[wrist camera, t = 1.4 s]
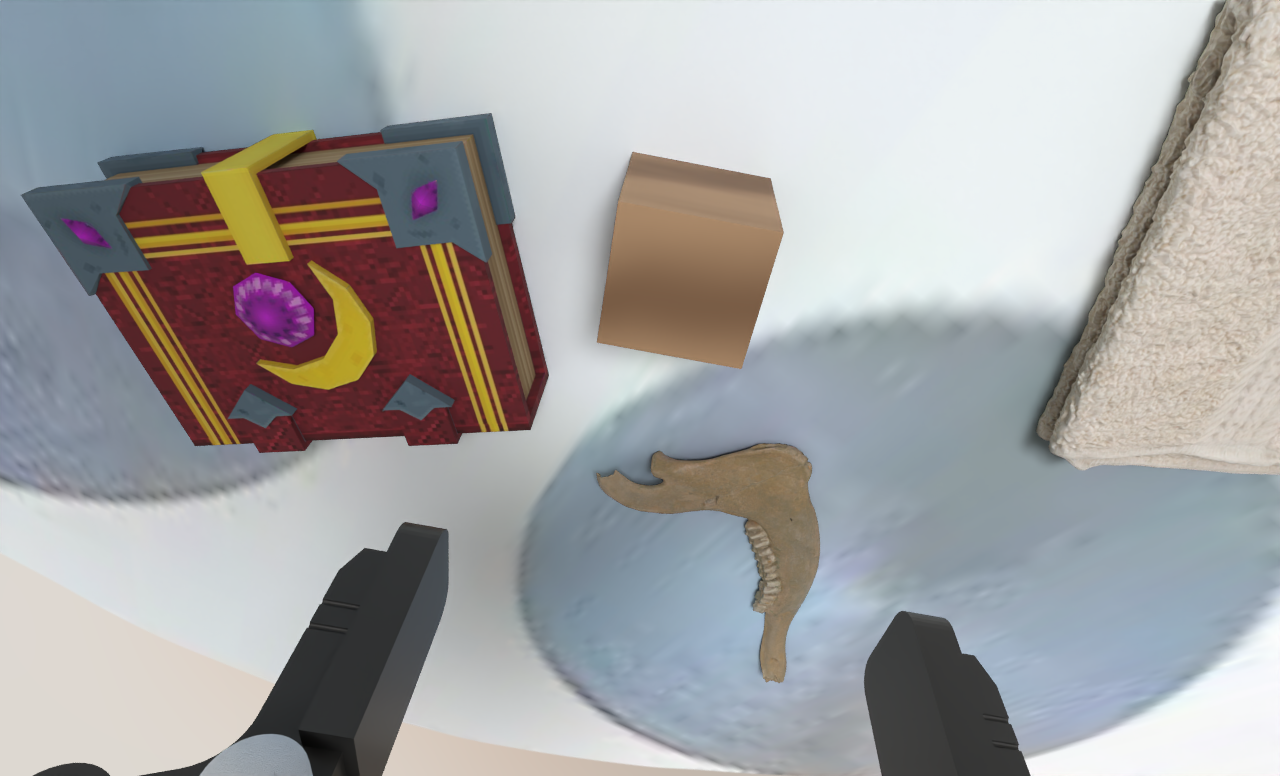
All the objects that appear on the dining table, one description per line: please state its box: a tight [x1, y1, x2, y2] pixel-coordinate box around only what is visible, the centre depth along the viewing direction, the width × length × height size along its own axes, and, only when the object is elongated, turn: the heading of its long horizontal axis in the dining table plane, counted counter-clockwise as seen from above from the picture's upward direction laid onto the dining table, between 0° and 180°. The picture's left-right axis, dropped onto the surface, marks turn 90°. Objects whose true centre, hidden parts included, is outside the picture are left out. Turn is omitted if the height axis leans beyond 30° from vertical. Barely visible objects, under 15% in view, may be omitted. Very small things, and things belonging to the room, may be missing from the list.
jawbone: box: [596, 443, 820, 683], centre depth 35 cm, size 9×20×2 cm, turn 30°
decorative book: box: [21, 113, 549, 453], centre depth 26 cm, size 11×16×5 cm
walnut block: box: [597, 152, 784, 369], centre depth 23 cm, size 5×5×5 cm
